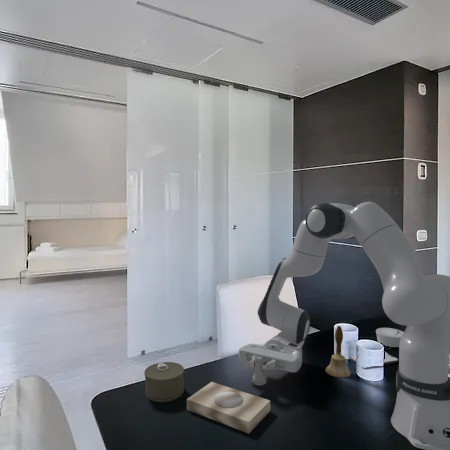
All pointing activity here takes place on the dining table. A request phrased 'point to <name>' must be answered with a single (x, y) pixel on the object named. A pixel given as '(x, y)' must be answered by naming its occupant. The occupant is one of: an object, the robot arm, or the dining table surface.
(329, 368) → the hand bell
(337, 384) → the dining table surface
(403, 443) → the dining table surface
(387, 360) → the phone case
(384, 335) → the ramekin
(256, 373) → the rook chess piece
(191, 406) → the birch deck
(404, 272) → the robot arm
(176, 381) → the can
